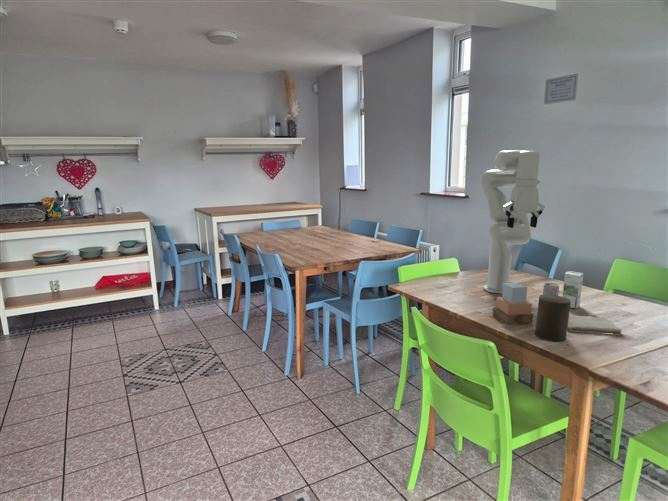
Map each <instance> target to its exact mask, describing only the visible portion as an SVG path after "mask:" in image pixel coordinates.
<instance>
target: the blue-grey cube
mask: <svg viewBox="0 0 668 501" xmlns="http://www.w3.org/2000/svg"><path fill="white" fill-rule="evenodd" d="M527 293H528V286H526V285H524V284H521V283H519V282H518V283H514V282H513V283H503V292H502V294H501V297H502V299H504V300H506V301H508V302H510V303H526V301H527V297H528V296H527Z"/></svg>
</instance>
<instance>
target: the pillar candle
mask: <svg viewBox="0 0 668 501" xmlns="http://www.w3.org/2000/svg"><path fill="white" fill-rule="evenodd" d="M562 296H563V295H559V294H558V295H548V294H543V293H542V294H540V295H539V296H538V305H537V312H536V321H535V328H534V335H535V336H536V337H537V338H539V339H541V340H544V341H548V342H553V343H560V342H561V343H562V342H565V341H566V340H567V334H568V330H567V327H568V320H569V316H570V312H571V308H570V304H571V300H570V299H569V298H566V297H562Z"/></svg>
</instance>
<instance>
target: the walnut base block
mask: <svg viewBox="0 0 668 501" xmlns="http://www.w3.org/2000/svg"><path fill="white" fill-rule="evenodd" d="M492 316H493V317H494V318H496V319H497V320H498V321H500V322H502V323H504V324H505V325H507V326H514V325H531V324H533V318H534V314H533V313H532V312H531V314H518V315H507V314H506V313H504V312H503V311H501V310H500V309H498V308H497V307H496V306H493V312H492Z"/></svg>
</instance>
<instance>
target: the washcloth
mask: <svg viewBox="0 0 668 501" xmlns="http://www.w3.org/2000/svg"><path fill="white" fill-rule="evenodd" d="M567 332H570V333H582V332H590V333H589V334H597V333H613V334H621V335H622V328H620V327H618V326H617V325H616V324H614V322H612V321H611V320H609V319H608V318H605V317H604V318H600V317H595V316H592V315H588V316H584V315H583V316H582V315H569V320H568V327H567Z"/></svg>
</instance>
